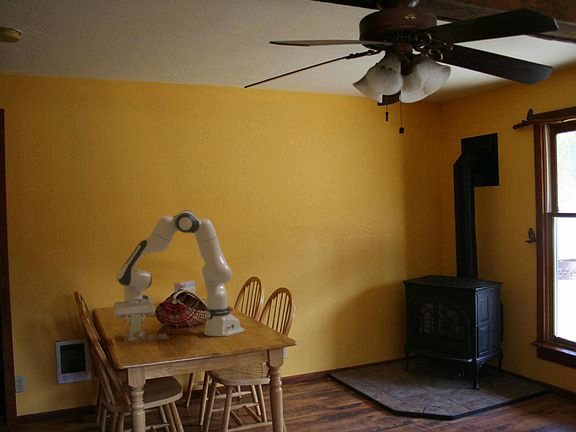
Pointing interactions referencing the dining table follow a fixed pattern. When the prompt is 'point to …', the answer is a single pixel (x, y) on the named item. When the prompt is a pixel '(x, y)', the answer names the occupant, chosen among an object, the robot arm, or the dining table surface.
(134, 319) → the slat
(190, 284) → the cracker box
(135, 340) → the end cap board
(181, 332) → the dining table surface
